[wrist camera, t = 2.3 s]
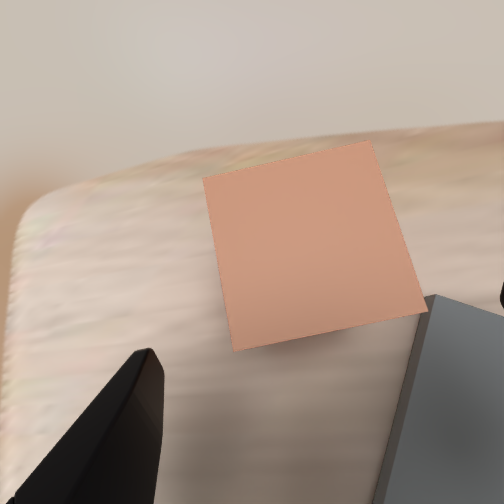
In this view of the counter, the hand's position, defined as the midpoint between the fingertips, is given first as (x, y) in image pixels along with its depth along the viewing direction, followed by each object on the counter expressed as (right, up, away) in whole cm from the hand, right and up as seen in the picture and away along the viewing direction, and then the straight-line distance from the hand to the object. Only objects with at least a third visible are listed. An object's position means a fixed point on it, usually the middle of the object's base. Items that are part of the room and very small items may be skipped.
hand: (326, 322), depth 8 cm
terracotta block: (0, 0, +10) cm, 10 cm away
